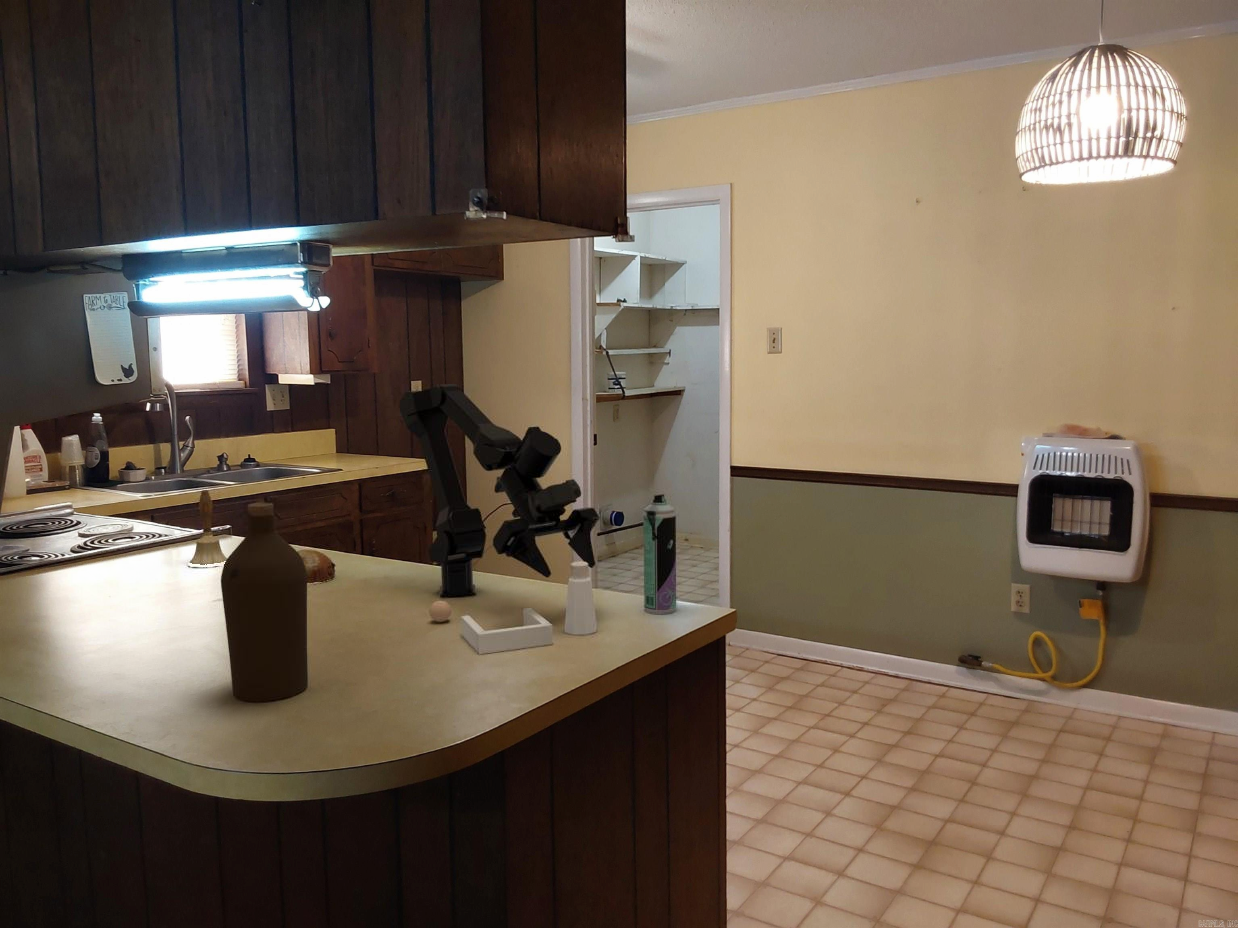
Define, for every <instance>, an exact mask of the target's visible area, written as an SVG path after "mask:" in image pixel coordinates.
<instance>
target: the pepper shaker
mask: <svg viewBox="0 0 1238 928" xmlns="http://www.w3.org/2000/svg"><path fill="white" fill-rule="evenodd" d="M588 567H589V566H588V563H587V562H584V561H583V560H582V561H574V562H571V563H570V569H571V570H570V571H571V572H570V573H571V575H570V577H569V579H568V582H567V583H568V584H567V595H566V605H565V606H566V608H565V621H564V633H566V634H569V635H572V636H587V635H591V634H593V633H596V632H597V629H598V627H597V616H596V609H595V603H594V593H593V592H594V591H593V584H592V579H591V577H590V576H589V574H588V573H589V569H588Z"/></svg>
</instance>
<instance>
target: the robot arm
mask: <svg viewBox="0 0 1238 928" xmlns="http://www.w3.org/2000/svg"><path fill="white" fill-rule="evenodd" d="M463 389H464V388H463V387H462V386H461V385H457V384H456V383H455V384H454V383H452V384H451V383H450V384H437V385H436V386H433V387H430V388H427V389H423V390H408V391H406V392H405V393H404V394H403V395H402V397H401V398H400V400H399V404H398V409H399V412H400V414H401V417H402V418H403V419H402V420H403V422H404V423H405V426H406V428H407V429H408V430H409V432H411V433H412V434H413V435H414V436H415V437H416V438H417V439H418V440H419V444H420V447H421V450H422V453H423V457H424V462H425V464H426V469H427V471H428V475H429V478H430V482H431V486H432V489H433V492H434V495H435V496H434V497H435V499H436V503H437V506H438V509H439V514H438V518H437V520H436V521H437V522H436V523H435V532H436V537H435V539H434V541H433V542H432V544H431V545H430V547H429V548H428V556H429V559H430V562H431V563H435V564H439V565H440V571H441V585H440V586H439V597H442V598H444V597H458V596H459V597H462V596H464V597H465V596H475V595H477V594H476V593H477V592H476V591H477V590H476V584H474V572H473V571H474V570H473V568H474V567H473V560H474V559H475V560H476V559H482V558H483V555H484V551H485V547H486V546H485V544H486V541H487V532H486V528H487V526H486V525H485V523H484V521H483V516H482V512H481V510H480V509H479V508H478V507H475V508H472V507H471V506H470V505H469V504H468V503H467V501H466V498H465V496H464V495H465V494H464V492H463V491H464V490H463V489H462V485H461V482H460V478H459V475H458V472H457V468H456V465H455V462H454V457H453V454H452V451H451V448H450V444H449V441H448V438H447V435H446V429H447V426H448V422H449V419H450V420H451V422H453V424H454V425H456V427H458V429H459V431H461V432H462V433H463V434H464V435H465V437H466V438H467V439H468V440H469V441H470V442H471V444H472V445H473V447H472V448H473V450H472V451H473V452H472V453H473V455H474V457H475V459H476V460H477V462H478V463H479V465H480V466H481V467H482V468H483V469H484V470H485V471H487V472H494V471H502V470H503V472H502V473H501V474H500V476H497V477H496V483H495V485H494V490H493V491H494V493H496V494H498V493H500V494H501V493H505V494H506V497H507V499H508V500H509V501H510V503H511V506H512V507H513V508H514V509H513V510H512V511H511V515H512V517H513V518H512V519H507V520H504V521H503V522H502V524H501V525H500V527H499V528H498V530H497V531H496V533H495V535H494V536H493V538H492V546H493V548H494V550H495V551H496V553H497V554H498V555H504V554H505V556H506V557H507V558H510V557H511V558H513V559H515V560H517V561H518V562H521V564H523V565H526V566H527V567H529V568H531V569H532V570H534V571H535V572H537V573H538V574H540V575H541V576H542V577H545V578H550V576H552V572H551V569H550V567H549V565H548V563H547V561H546V560H545V557H544V556H543V553H541V550H540V548H539V547H538V545H537V543H536V537H538V538H539V537H543V536H549V535H557V534H561V533H562V534H563V536H564V538H565V539H566V540H568V543H567V544H568V546H569V547H570V548H571V549H572V550H573V551H574V552H575V553H576V555H577V556H578V557H579V558H580V559H581V560H582V561H583V562H587V563H588V567H589V568H591V569H593V568H594V567H595V565H596V560H595V556H594V550H593V547H592V546H593V545H592V537H591V536H592V535H591V534H592V530H593V529H594V527H596V524H597V523H598V521H599V520H600V519H601V518H600V516H599V514H598V513H597V511H596V510H595V508H594V507H590V506H589V507H582V508H576V509H573V510H572V512H571V513H570V514H569V516H568V517H567V518H566V519H561V518H560V517H561V516H563V515H565V513H566V511H567V509H566V508H565V507H567V506H569V505H570V504H572V503H573V504H575V503H576V502H577V499H579V498H581V496H582V490H581V487H580V485H579V484H578V482H577V481H576V480H575V478H573V479H566V480H565V481H563V482H561V483H556V484H551V485H549V486H547V487H545V488H543V486H542V485H541V483H540V482H539V480H538V479H541V478H543V477H544V476H546V475H547V473H548V472H549V470H550V469H551V467H552V466H553V464H554V463H555V461H556V459H557V458H558V456H559V455H560V453H561V451H562V446H561V443H560V441H559V440H558V438H555V436H553V435H552V434H550V433H549V432H546V431H543V430H541V427H540V426H538V425H537V426H529V427H528V428H527V430H526V431H525V434H524V435H523V438H522V439H521V438H520V437H519V436H518V435H516V434H515V433H513V432H512V431H511V430H509V429H506V428H503V427H501V426H498V425H496V424H495V423H493V421H491V420H490V419H489V417H488V416H486V415H485V414H484V412H483V411H481V410H480V408H479V407H478V406H477V405H476V404H475V403H474V402H473V401H472V400H471V399H470V398H469V397H468V396H467V395H466V394H465V392H464V390H463Z"/></svg>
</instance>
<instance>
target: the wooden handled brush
mask: <svg viewBox="0 0 1238 928" xmlns="http://www.w3.org/2000/svg"><path fill="white" fill-rule="evenodd" d="M209 492H210V491H209V490H207V489H204V490H203V489H202V490H201V492H200V496H199V501H198V509H199V513H200V516H201V519H202V534H203V535H202V537H200V538H198V539H197V540H196V546H195V552H194V554H193V557H192V559H190V561H189V562H190V563H192V564H200V565H205V564H206V565H207V564H214V563H221V562H224V561H226V560H227V558H228V557H226V555H225V554H224V553H223V550H222V548H221V544H220V539H219V538H218V537H216V536H214V535H213V533H212V531H213V530H212V523H211V518H212V515H213V501H212V498H211V496H210V493H209Z"/></svg>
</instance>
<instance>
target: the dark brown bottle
mask: <svg viewBox="0 0 1238 928" xmlns="http://www.w3.org/2000/svg"><path fill="white" fill-rule="evenodd" d="M246 508H247V512H248V514H247V515H246V518H247V519H246V520H247V528H248V529H247V534H246V536H245V537H244V539H243V540H242V541H241V542H240V543H239V544H238V545H237V546H236V547H235V549H234V550H233V551H232V552H231V553H230V555H228V557H226V558H227V560H226V562H225V564H224V566H222V567H223V568H222V570H221V571H222V572H221V576H220V588H221V594H222V595H221V596H222V604H223V610H224V611H223V613H224V619H225V621H224V622H225V630H226V637H227V647H228V654H229V655H228V657H229V665H230V675H231V676H230V677H231V678H230V679H231V688H232V694H233V696H234V698H235V699H237V700H240V701H243V702H253V703H254V702H255V703H256V702H257V703H262V702H272V701H278V700H285V699H287V698H291V697H293V696H296V695H299V694H300V693H302V692H303V691H305V690H306V689H307V687H308V685H309V680H308V679H309V674H308V673H309V671H308V668H309V667H308V586H307V571H306V567H305V564H304V562H303V559H302V557H301V556H300V554H299V553H298V552H297V550H296V549H295V548H294V547H293V546H292V545H291V544H289V543H288V541H286V540H285V539H284V538H283V537H281V535H280V534H278V532H277V531H276V516H275V515H276V514H275V513H274V503H272V502H267V501H266V502H253V503H249V504H248V505H247V507H246Z"/></svg>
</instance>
